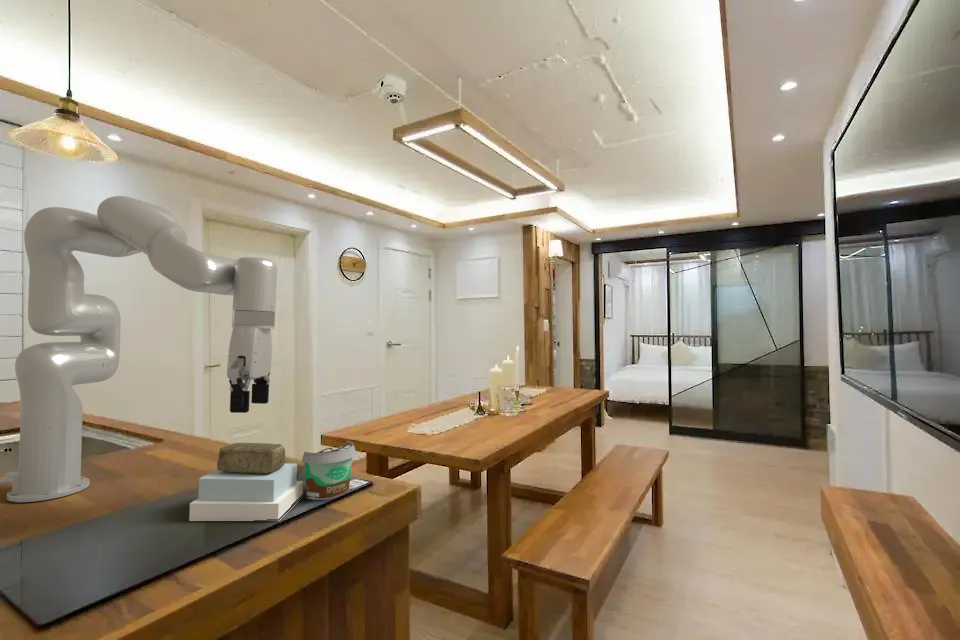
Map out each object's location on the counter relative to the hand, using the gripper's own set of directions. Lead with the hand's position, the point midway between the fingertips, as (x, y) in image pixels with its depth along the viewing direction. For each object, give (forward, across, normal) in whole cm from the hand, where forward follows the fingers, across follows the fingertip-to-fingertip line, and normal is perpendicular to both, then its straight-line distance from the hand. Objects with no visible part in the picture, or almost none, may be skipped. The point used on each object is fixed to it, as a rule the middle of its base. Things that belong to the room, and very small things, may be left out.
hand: (250, 407), depth 87 cm
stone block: (+13, 0, +1) cm, 13 cm away
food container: (+20, -6, +16) cm, 26 cm away
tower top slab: (+16, 0, +1) cm, 16 cm away
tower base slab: (+20, 0, +1) cm, 20 cm away
